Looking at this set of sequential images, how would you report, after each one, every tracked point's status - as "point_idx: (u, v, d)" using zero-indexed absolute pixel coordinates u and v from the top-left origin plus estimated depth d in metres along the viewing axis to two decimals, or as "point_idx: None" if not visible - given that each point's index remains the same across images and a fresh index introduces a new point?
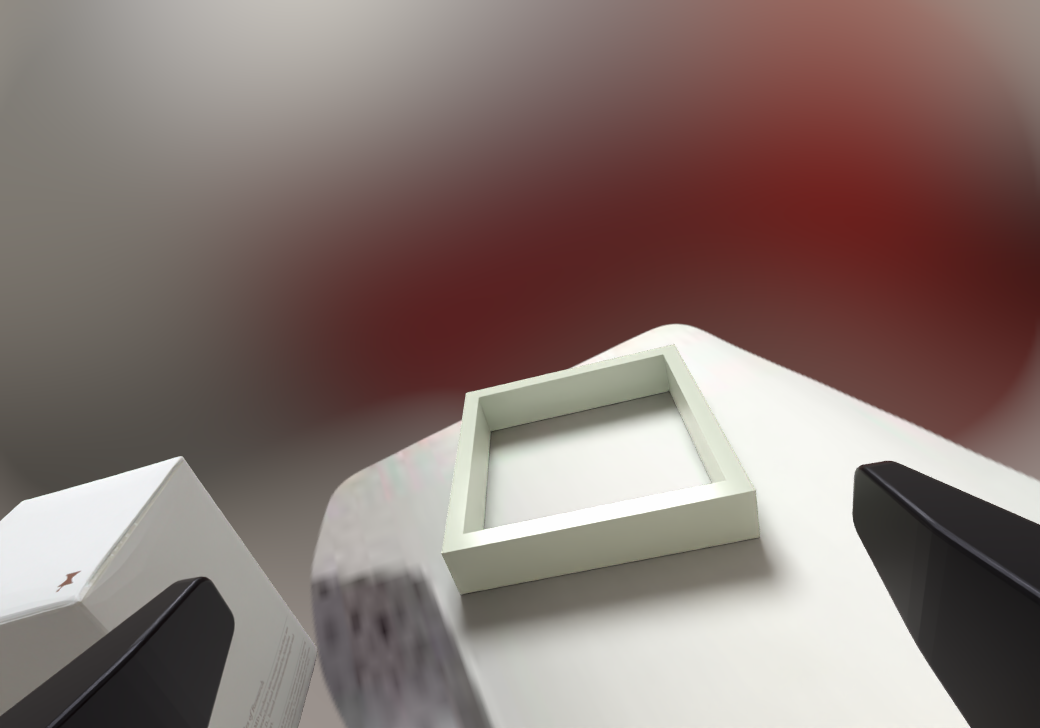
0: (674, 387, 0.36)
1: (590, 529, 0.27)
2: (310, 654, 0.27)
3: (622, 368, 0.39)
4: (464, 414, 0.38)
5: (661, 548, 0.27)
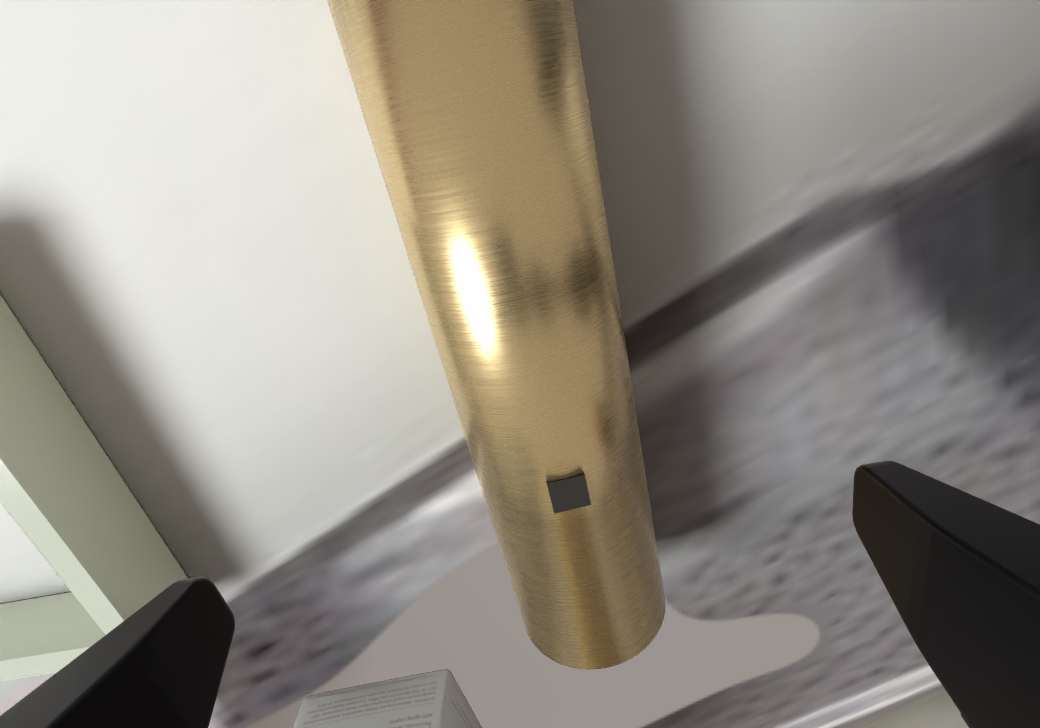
0: None
1: (41, 492, 0.17)
2: (313, 706, 0.25)
3: None
4: None
5: (36, 374, 0.18)
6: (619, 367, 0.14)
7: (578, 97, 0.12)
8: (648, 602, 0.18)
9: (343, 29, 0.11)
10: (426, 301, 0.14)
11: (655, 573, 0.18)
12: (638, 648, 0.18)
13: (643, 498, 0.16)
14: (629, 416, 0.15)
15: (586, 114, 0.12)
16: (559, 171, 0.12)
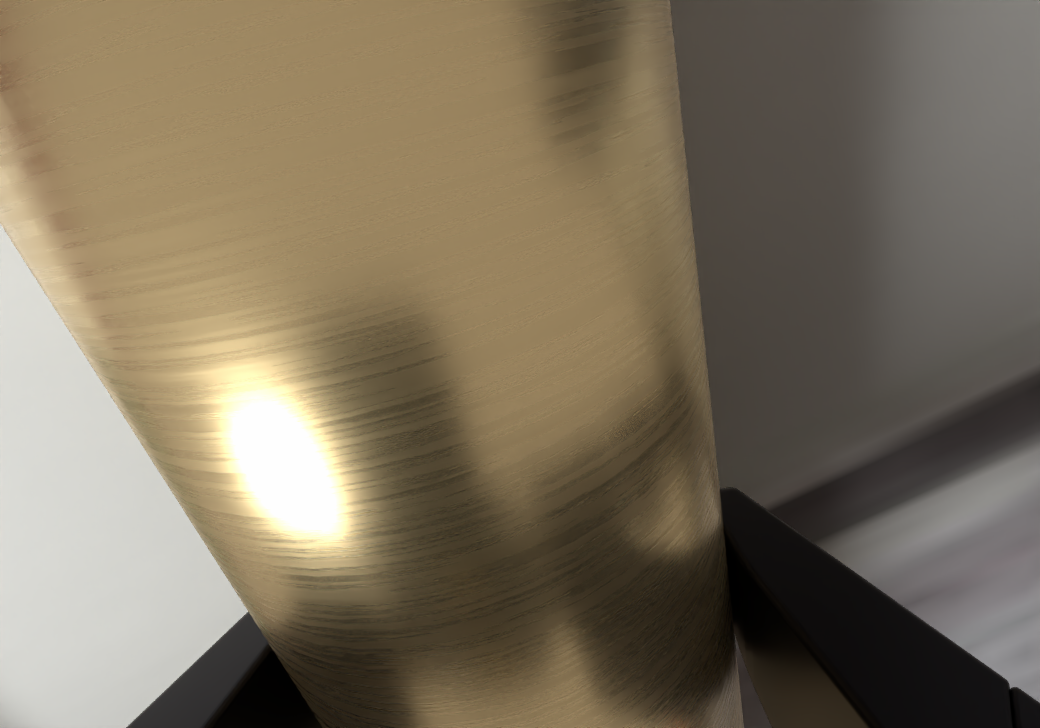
0: None
1: None
2: None
3: None
4: None
5: None
6: None
7: (662, 137, 0.03)
8: None
9: None
10: None
11: None
12: None
13: None
14: None
15: (681, 184, 0.04)
16: (592, 393, 0.03)
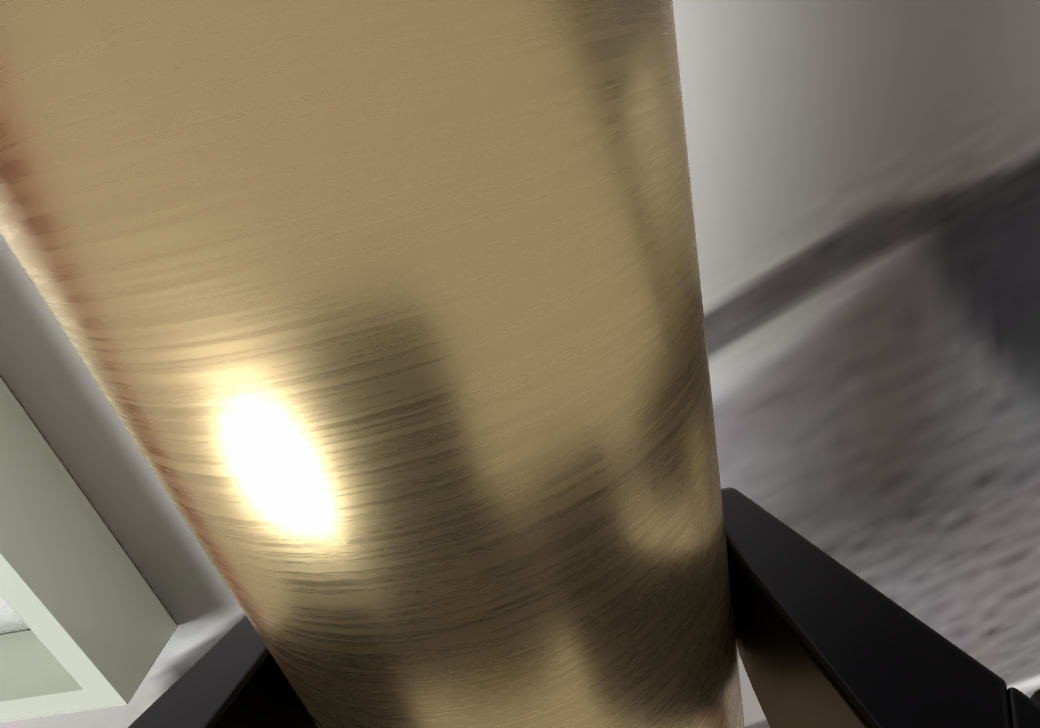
0: None
1: (1, 531, 0.16)
2: None
3: None
4: None
5: None
6: None
7: (666, 135, 0.03)
8: None
9: None
10: None
11: None
12: None
13: None
14: None
15: (684, 183, 0.04)
16: (598, 395, 0.03)
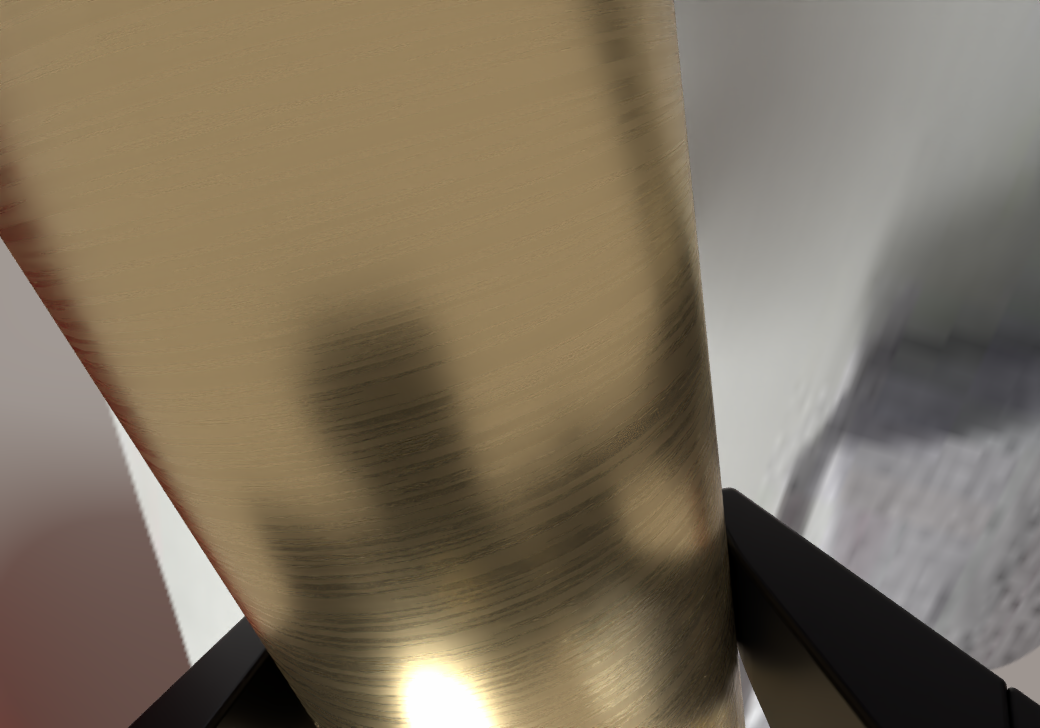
0: None
1: None
2: None
3: None
4: None
5: None
6: None
7: (667, 137, 0.03)
8: None
9: None
10: None
11: None
12: None
13: None
14: None
15: (686, 185, 0.04)
16: (600, 397, 0.03)
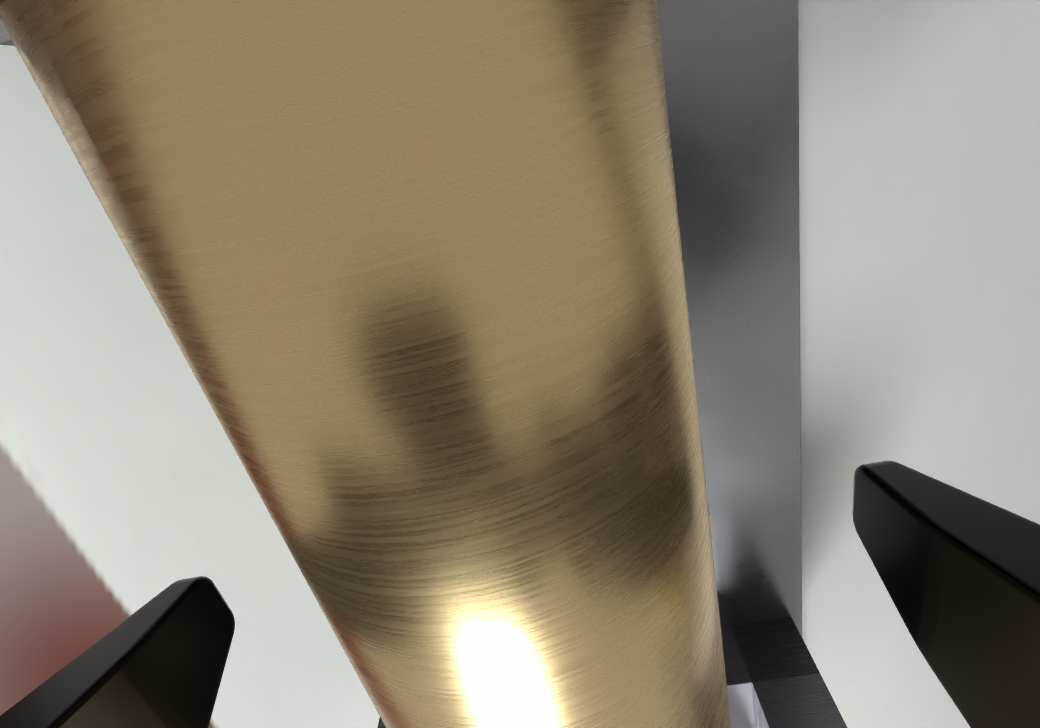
0: None
1: None
2: None
3: None
4: None
5: None
6: (711, 681, 0.07)
7: (650, 126, 0.04)
8: None
9: None
10: None
11: None
12: None
13: None
14: None
15: (667, 167, 0.05)
16: (592, 339, 0.04)
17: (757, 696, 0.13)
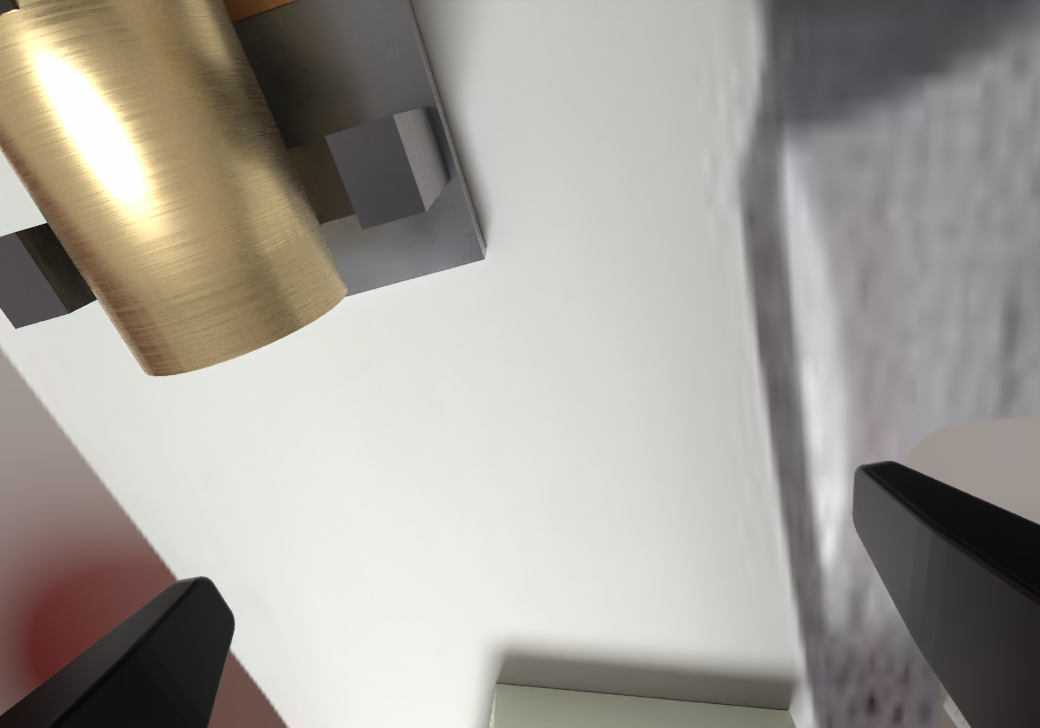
0: None
1: None
2: (953, 706, 0.27)
3: None
4: None
5: (589, 702, 0.28)
6: None
7: None
8: (247, 267, 0.11)
9: None
10: None
11: (266, 229, 0.12)
12: (244, 343, 0.12)
13: (188, 67, 0.10)
14: None
15: None
16: None
17: None
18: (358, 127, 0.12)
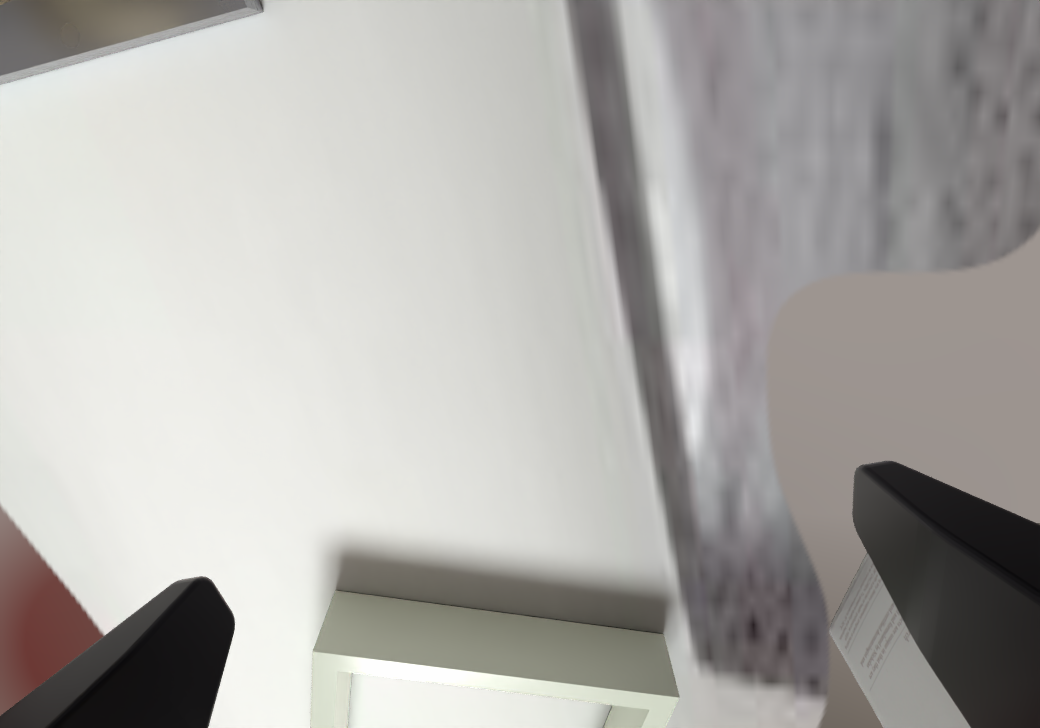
0: None
1: (506, 667, 0.23)
2: (838, 630, 0.25)
3: None
4: None
5: (438, 613, 0.25)
6: None
7: None
8: None
9: None
10: None
11: None
12: None
13: None
14: None
15: None
16: None
17: None
18: None
